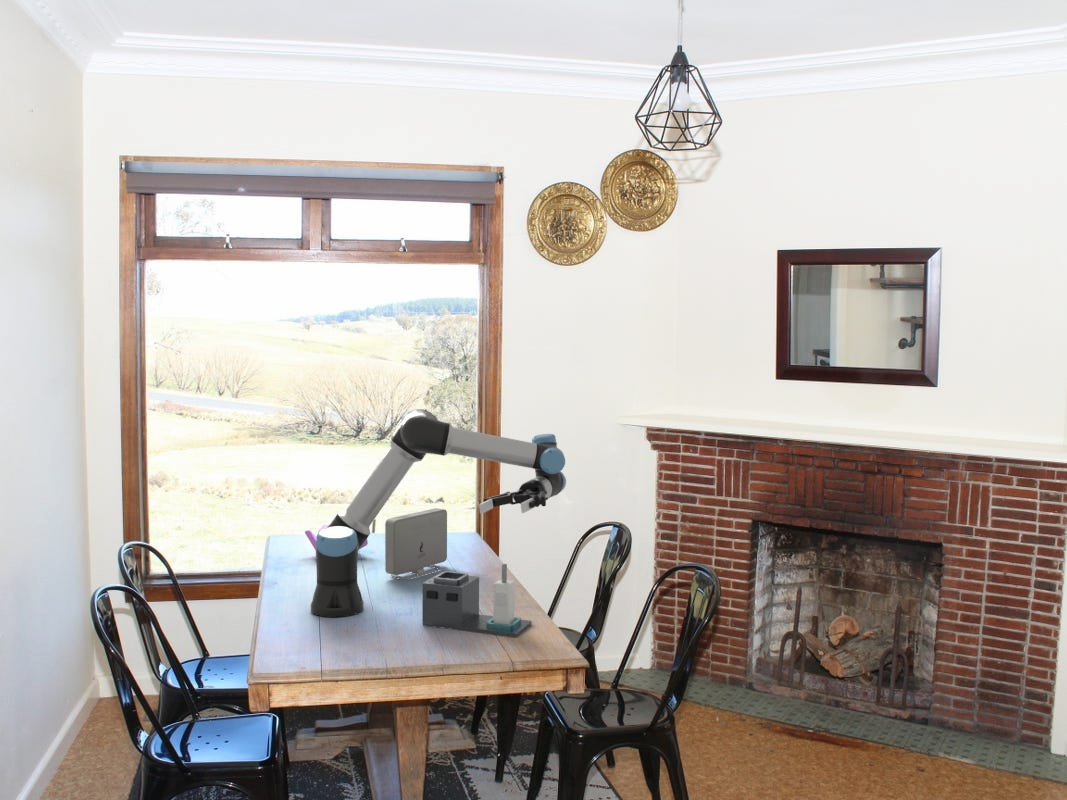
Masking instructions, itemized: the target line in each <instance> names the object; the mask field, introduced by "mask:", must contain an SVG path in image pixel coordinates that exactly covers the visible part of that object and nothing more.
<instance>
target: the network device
mask: <svg viewBox="0 0 1067 800" xmlns="http://www.w3.org/2000/svg"><path fill="white" fill-rule="evenodd" d="M384 528H385V529H384V531H385V533H384V534H385V535H384V536H385V537H384V539H385V541H384V542H385V543H384V544H385V549H384V550H385V553H384V554H385V556H384V558H385V559H384V560H385V561H384V563H385V564H384V566H385V568H384V569H385V572H386V574H387V575H388V574H389V575H390V577H391V576H392V577H395V578H394V579H396V578H399V579H398V580H400V579H410V580H412V579H411V578H414V579H416V578H415V577H417V578H419V577H418V576H421V577H423V576H422V575H424V576H426V575H425V574H428V575H430V574H429V573H431V574H433V573H432V572H434V573H436V572H435V571H438V570H441V569H442V566H440V565H437V564H441V563H444V562H446V561H447V558H448V511H447V510H446V509H445V508H438V507H434V508H431V509H425V510H422V511H418V512H417V511H416V512H413V513H412V512H411V513H408V514H404V515H399V516H394V517H390V518H387V519H386V520H385V523H384ZM428 566H431V567H430V568H432V567H435V568H434V569H432V570H424V569H425V568H427V567H428ZM428 568H429V567H428ZM436 568H438V569H436ZM441 571H442V570H441ZM409 572H412V573H411V574H413V573H416V574H414V575H412V576H409V577H408V576H407V577H406V576H402V575H403V574H407V573H409ZM438 572H439V571H438ZM417 574H418V575H417ZM392 577H391V578H392Z"/></svg>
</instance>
